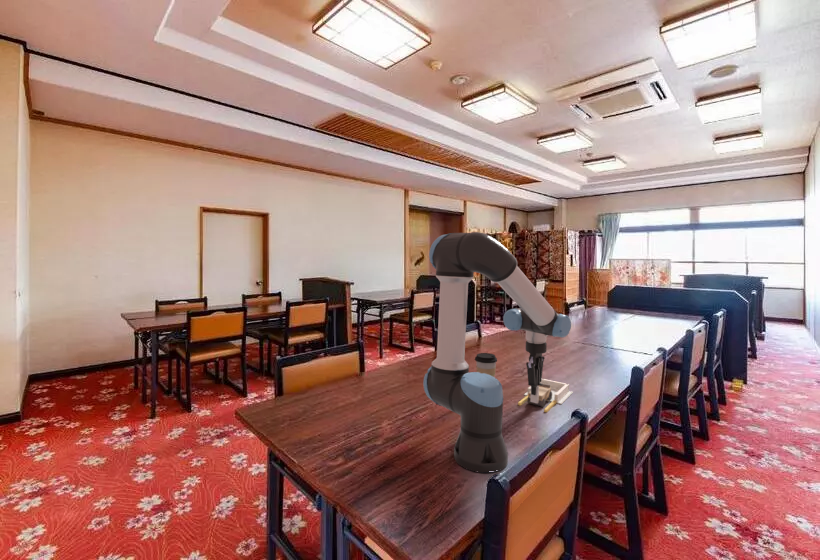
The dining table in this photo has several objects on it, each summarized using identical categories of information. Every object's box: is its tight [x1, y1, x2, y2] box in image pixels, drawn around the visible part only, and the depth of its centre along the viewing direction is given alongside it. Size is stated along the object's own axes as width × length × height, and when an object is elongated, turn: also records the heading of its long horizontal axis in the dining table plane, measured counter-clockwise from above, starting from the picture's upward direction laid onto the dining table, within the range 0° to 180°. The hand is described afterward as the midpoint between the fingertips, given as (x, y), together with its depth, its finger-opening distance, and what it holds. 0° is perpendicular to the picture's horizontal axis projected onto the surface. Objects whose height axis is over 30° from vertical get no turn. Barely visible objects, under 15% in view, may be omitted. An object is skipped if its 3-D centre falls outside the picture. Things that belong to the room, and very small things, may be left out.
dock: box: [517, 378, 574, 413], centre depth 152 cm, size 27×15×3 cm, turn 142°
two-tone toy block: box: [526, 383, 552, 408], centre depth 148 cm, size 11×6×6 cm, turn 141°
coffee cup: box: [474, 352, 498, 378], centre depth 161 cm, size 9×9×15 cm
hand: (534, 402), depth 143 cm, fingers closed
